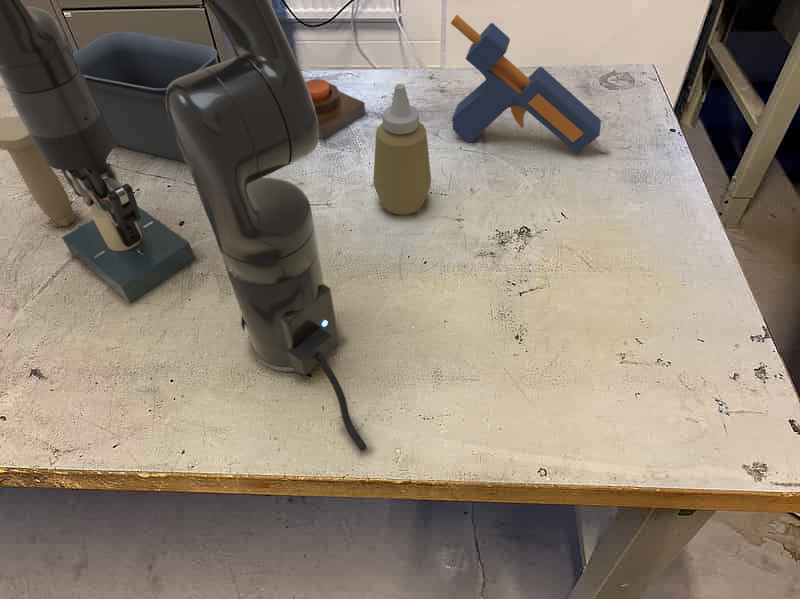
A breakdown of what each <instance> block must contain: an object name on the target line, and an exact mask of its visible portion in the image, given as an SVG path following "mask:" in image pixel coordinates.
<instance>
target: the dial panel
mask: <svg viewBox="0 0 800 599" xmlns="http://www.w3.org/2000/svg"><path fill="white" fill-rule="evenodd" d="M137 207H138V210H139V214H140V217H141V219H139V220H137V221H136V223H137V225H138V227H139V229H140V231H141V233H142V239H141V241H140V242H139V243H138V244H137V245H136V246H135V247H133V248H131V249H129V250H125V251H113V250H111V249H110V248H108V246H107V244H106V242H105V241H104V239H103V237H102V235H101V233H100V231H99V229H98V227H97V226H96V224H95V222H94V220H93V219H91V220H90V221H88V222H86V223H84V224H82V225H81V226H79V227H78V228H75V229H74V230H72V231H70V232H69V233H67V234H65V235H64V236H62V237H61V239H62V241H63V242H64V244H65V246H66V247H67V249H68V250H69V252H70V254H71V255H72V256H73V257H75V258H76V259H77V260H78V261H79V262H81V263H82V264H83V265H84V266H86V268H88V269H89V270H90V271H91V272H93V273H94V274H95V275H96V276H97V277H99V278H100V279H101V280H102V281H103V282H104V283H105V284H107V285H108V286H109V287H111V288H112V289H113V290H114V291H115V293H117V294H119V295H120V296H121V297H122V298H123V299H124V300H126V301H127V302H128V303H130V304H131V303H133V302H134V301H136V300H138V298H140V297H141V296H143V295H145V294H146V293H147V292H149V291H150V290H152V289H154V288H155V287H156V286H158V285H159V284H161V283H162V282H164V281H166V280H167V279H168V278H170V277H171V276H172V275H174V274H175V273H177V272H178V271H180V270H181V269H183V268H184V267H186V266H187V265H189V264H191V263H192V262H193V261H195V260H196V256H195V254H194V252H193V251H194V250H193V249H192V247H191V244H190V242H189V241H187V240H186V239H185V238H183V237H182V236H181V235H179V234H177V233H176V232H175V231H174V230H172V229H171V228H169V227H168V226H166V225H165V224H164V223H162V222H161V221H159V220H158V219H156V217H153V215H151V214H150V213H148V212H147V211H145V209H142V208H141V207H139V205H137Z"/></svg>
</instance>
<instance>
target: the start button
mask: <svg viewBox="0 0 800 599" xmlns="http://www.w3.org/2000/svg"><path fill="white" fill-rule="evenodd" d="M305 82H306V84H307V87H308V90H309V92H310V95H311V98H312V101H316V102H317V101H322V100H325V99H327V98H329V97H330V88H329V83H330V82H328V81H327V80H325V79H321V78H314V79H313V78H312V79H309V80H307V81H305Z"/></svg>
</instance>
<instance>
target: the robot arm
mask: <svg viewBox="0 0 800 599" xmlns="http://www.w3.org/2000/svg"><path fill="white" fill-rule="evenodd" d="M203 2H204V3H205V4H206V5H207V6H208V8H209V10H210V11H211V13H212V14H213V16H214V17H215V19H216V20H217V21H218V23H219V25H220V26H221V28H222V30H223V32H224V33H225V35H226V37H227V39H228V42H230V45H231V47H232V49H233V51H234V54H235V57H232V58H229V59H227V60H223V61H221V62H217V63H218V64H215V65H212V66H210V67H207V68H204V69H202V70H199V71H196V72H193V73H190V74H188V75H185V76H182V77H180V78H178V79H176V80H174V81H172V82H171V83H170V84H169V85H168V87H167V90H166V94H165V104H166V111H167V115H168V118H169V122H170V125H171V128H172V131H173V133H174V136H175V138H176V141H177V143H178V146H179V148H180V150H181V152H182V155H183V157H184V159H185V162H184V163H185V164H186V166H187V169H188V171H189V173H190V176H191V178H192V180H193V183H194V186H195V188H196V191H197V193H198V194H197V195H198V196H199V199H200V202H201V204H202V207H203V209H204V212H205V214H206V217H207V220H208V222H209V224H210V227H211V229H212V231H213V234H214V237H215V239H216V243H217V246H218V249H219V251H220V255H221V257H222V260H223V264H224V266H225V270H226V272H227V275H228V277H229V281H230V284H231V287H232V290H233V292H234V296H235V298H236V301H237V304H238V307H239V310H240V313H241V320H240V325H241V328H242V331H243V332H245V328H246V331H247V333H248V335H249V339H250V341H251V347H252V350H253V353H254V355H255V357H256V358H257V360H258V361H259V362H260V363H261V364H263V366H265V367H267V368H269V369H271V370H274V371H278V372H285V373H286V372H287V373H289V372H294V373H296V374H298V375H299V376H307V375H308V374H309V372H311V371H312V370H313V369H315V367H316V366H318V365H319V366H320V367H321V369H322V370H323V372H324V374H325V375H326V378H327V379H328V381H329V383H330V384H331V386H332V388H333V390H334V393H335V395H336V397H337V400H338V404H339V409H340V413H341V418H342V422H343V424H344V427H345V429H346V431H347V433H348V434H349V436H350V437H351V439H352V440H353V442H354V443H355V445H356V446H357V447H358V449H359V451H364V450H366V449H367V448H368V446H367V444H366V443H365V441H364V440H363V439H362V437H361V436H360V434H359V433H358V432H357V430H356V428H355V426H354V423H353V422H352V419H351V416H350V413H349V408H348V402H347V399H346V396H345V393H344V390H343V389H342V386H341V384H340V383H339V380H338V377H336V374H335V373H334V371H333V370H332V368H331V367H330V365H329V363H328V361H327V360H326V358H327V357H328V356H329V355H330V354H331V353H332V352H333V351H334V350H335V347H336V346H338V345H339V344H340V339H339V332H338V326H337V319H336V313H335V308H334V307H335V306H334V302H333V294H332V289H331V287H329V286H328V285H326V284H325V281H324V275H323V269H322V263H321V258H320V252H319V246H318V240H317V236H316V235H317V234H316V227H315V223H314V217H313V211H312V206H311V203H310V200H309V198H308V196H307V195H306V193H305V192H304V191H303V190H302V189H301V188H300V187H299V186H297V185H295V184H294V183H292V182H290V181H287V180H284V179H280V178H274V177H267V176H268V175H270V174H273V173H275V172H277V171H279V170H281V169H283V168H285V167H288V166H290V165H292V164H294V163H296V162H298V161H300V160H302V159H304V158H306V157H308V156H309V155H311V154H312V153H313V152H314V151H315V150H316V149H317V147H318V143H319V139H320V138H319V128H318V120H317V115H316V111H315V108H314V104H313V101H312V98H311V95H310V92H309V90H308V87H307V84H306V82H307V81H306V79H305V76H304V74H303V72H302V69H301V68H300V66H299V63H298V60H297V59H296V56H295V53H294V52H293V49H292V47H291V45H290V43H289V40H288V39H287V36H286V34H285V32H284V30H283V27H282V25H281V23H280V21H279V18H278V17H277V14H276V12H275V10H274V8H273V6H272V3H271V1H270V0H203ZM65 36H66V35H64V33H63V30H62V29H61V27H60V25H59V23H58V22H57V20H56V19H55V18H54V16H53V15H52V14H51V13H50V12H48V11H47V10H45V9H42V8H39V7H36V6H26V5H25V4H24V2H23V1H22V0H0V79H1V81H2V83H3V84H4V86H5V88H6V90H7V93H8V94H9V97H10V100H11V102H12V105H13V107H14V109H15V111H16V113H17V115H18V117H20V118H21V120H22V122H23V123H24V125H25V127H26V129H27V131H28V132H29V134H30V136H31V138H32V140H33V141H34V143H35V145H36V147H37V148H38V150H39V152H40V154H41V156H42V157H43V159H44V161H45V162H46V163H47V164H48V165H49V166H50V167H51V168H52V169H55V170H58V171H61V173H62V174H63V176H64V177H65V179H66V180H67V182H68V183H69V185H70V186H71V188H72V190H73V192H74V194H75V195H76V196H77V197H79V198H81V197H82V200H83V203H84V204H85V205H86V206H88V207H89V208H91V206H92V205H93V204H94V203H95V205H96V206H97V208H98V209H99V210H102V211H105V213H106V214H107V216H108V217H109V219H110V220H111V223H112V224H113V225H114V227H115V229H116V231H117V233H118V235H119V237H120V239H121V241H122V243H123V244H124V245H125V246H127V247H130V246H132V245H133V244H135V243H137V242H138V241H140V239H141V236H140V233H139V231H138V229H137V227H136V225H135V223H134V222H136V221H137V220H139V219H141V217H140V214H139V210H138V207H139V206H138V204H137V200H136V196H135V192H134V190H133V187H132V186H131V184H129V183H127V182H126V183H125V184H121V183H120V181H119V179H118V173H117V172H116V170H115V168H114V166H113V165H112V164H111V163H110V162H107V160H108V158H109V155H110V154H111V153H112V150H113V149H114V147H115V146H114V145H115V144H114V141H113V137H112V135H111V133H110V131H109V128H108V126H107V124H106V122H105V119H104V117H103V115H102V113H101V110H100V108H99V106H98V104H97V102H96V99H95V97H94V95H93V93H92V90H91V88H90V86H89V84H88V83H87V81H86V79H85V78H84V76H83V75H82V73H81V71H80V69H79V67H78V65H77V63H76V61H75V59H74V57H73V52H72V50H71V48H70V45H69V44H68V40H67V39H66V37H65ZM265 176H266V177H265ZM107 196H108V198H107V200H106V201H104V202H102V201H101V200H100V199H103V198H106V197H107ZM137 206H138V207H137ZM112 210H113V211H112Z"/></svg>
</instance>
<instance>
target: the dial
mask: <svg viewBox="0 0 800 599" xmlns="http://www.w3.org/2000/svg"><path fill="white" fill-rule="evenodd" d="M107 198H108V196H107V197H106V198H103V199H100V200H101V201H102V202H104V201H106V200H107ZM112 211H113V210H112ZM89 215H90V217H91V218H92V220H94V222H95V224H96V226H97V227H98V229H99V231H100V233H101V235H102V237H103V239H104V241H105V242H106V244H107V246H108V248H110V249H111V250H113V251H125V250H129V249H131V248H133V247H135V246H136V245H137V244H138V243H139V242H140V241H141V239H142V233H141V231H140V229H139V227H138V225H137V223H136V222H134V223H135V225H136V227H137V229H138V231H139V233H140V236H141V239H140V241H138V242H137V243H135V244H133V245H132V246H130V247H127V246H125V245H124V244H123V243H122V241H121V239H120V237H119V235H118V233H117V231H116V229H115V227H114V225H113V224H112V223H111V220H110V219H109V217H108V216H107V214H106V213H105V211H102V210H99V209H98V208H97V206H96V205H95V203H94V204H93V205H92V206H90V207H89Z"/></svg>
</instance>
